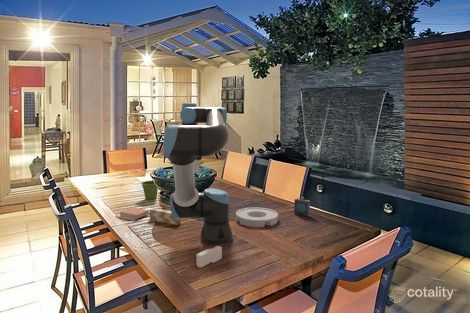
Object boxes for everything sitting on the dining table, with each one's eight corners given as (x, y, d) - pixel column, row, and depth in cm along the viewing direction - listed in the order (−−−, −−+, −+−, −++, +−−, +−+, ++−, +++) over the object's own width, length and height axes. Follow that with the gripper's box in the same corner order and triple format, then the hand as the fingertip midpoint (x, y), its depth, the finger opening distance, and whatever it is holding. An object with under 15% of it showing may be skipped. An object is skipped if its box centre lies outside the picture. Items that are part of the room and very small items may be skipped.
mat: (152, 212, 205) (152, 211, 205) (133, 220, 191) (133, 219, 191) (134, 209, 211) (134, 208, 211) (115, 216, 196) (115, 215, 196)
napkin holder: (194, 271, 134) (194, 257, 134) (190, 259, 145) (190, 246, 144) (232, 267, 138) (232, 253, 137) (225, 255, 149) (225, 242, 148)
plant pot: (145, 196, 241) (145, 180, 239) (162, 197, 239) (161, 180, 238) (138, 200, 229) (138, 184, 228) (156, 201, 228) (155, 184, 226)
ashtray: (272, 229, 179) (272, 222, 179) (229, 224, 187) (229, 217, 186) (281, 216, 201) (281, 209, 201) (243, 212, 209) (243, 205, 208)
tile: (148, 210, 200) (132, 207, 205) (136, 215, 191) (120, 212, 196) (148, 214, 200) (132, 211, 205) (137, 219, 191) (120, 216, 196)
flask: (310, 215, 202) (310, 197, 201) (308, 216, 200) (309, 198, 198) (294, 213, 207) (295, 195, 205) (293, 214, 204) (293, 196, 203)
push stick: (180, 223, 187) (180, 212, 187) (177, 225, 185) (177, 214, 184) (153, 218, 195) (152, 208, 194) (149, 220, 192) (149, 209, 191)
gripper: (196, 131, 192) (196, 169, 195) (169, 135, 170) (169, 178, 173) (208, 132, 189) (208, 171, 192) (182, 135, 167) (182, 179, 170)
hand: (190, 174), depth 182 cm, fingers open, 13 cm apart
